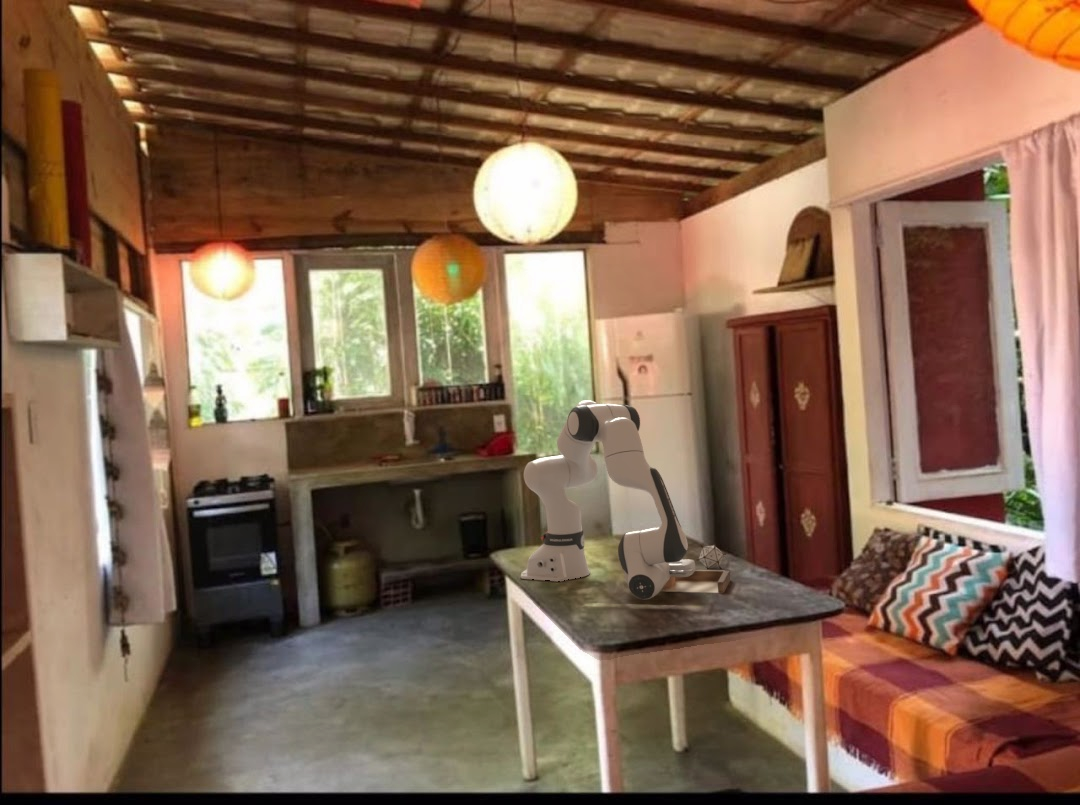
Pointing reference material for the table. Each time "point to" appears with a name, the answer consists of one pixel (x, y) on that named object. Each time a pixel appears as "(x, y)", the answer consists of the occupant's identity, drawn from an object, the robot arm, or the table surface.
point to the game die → (711, 557)
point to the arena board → (701, 582)
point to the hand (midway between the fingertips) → (664, 560)
